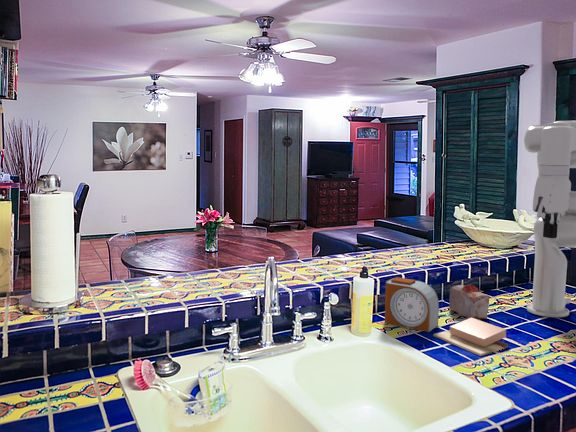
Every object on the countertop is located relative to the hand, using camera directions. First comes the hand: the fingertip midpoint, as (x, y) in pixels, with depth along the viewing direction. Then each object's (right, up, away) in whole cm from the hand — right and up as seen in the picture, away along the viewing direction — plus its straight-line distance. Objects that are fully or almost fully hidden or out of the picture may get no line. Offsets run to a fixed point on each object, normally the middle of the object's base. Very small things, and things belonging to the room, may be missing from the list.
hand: (549, 237), depth 152 cm
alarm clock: (-36, -28, +16) cm, 48 cm away
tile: (-16, -26, +4) cm, 31 cm away
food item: (-15, -26, +24) cm, 39 cm away
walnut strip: (-18, -29, +3) cm, 34 cm away
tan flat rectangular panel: (-23, -29, 0) cm, 37 cm away
